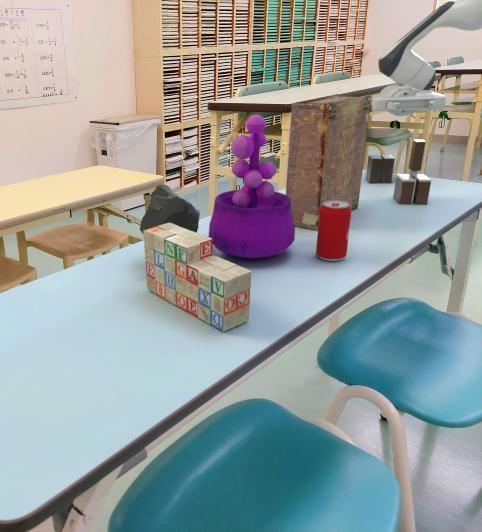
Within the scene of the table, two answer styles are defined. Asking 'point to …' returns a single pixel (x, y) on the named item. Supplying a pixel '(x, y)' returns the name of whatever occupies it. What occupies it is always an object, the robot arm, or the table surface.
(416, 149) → the knife
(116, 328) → the table surface
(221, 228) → the decorative plant
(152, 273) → the stack of blocks
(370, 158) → the knife holder
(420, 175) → the brown wooden cube
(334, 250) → the beverage can
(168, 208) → the dark grey faceted rock
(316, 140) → the book
